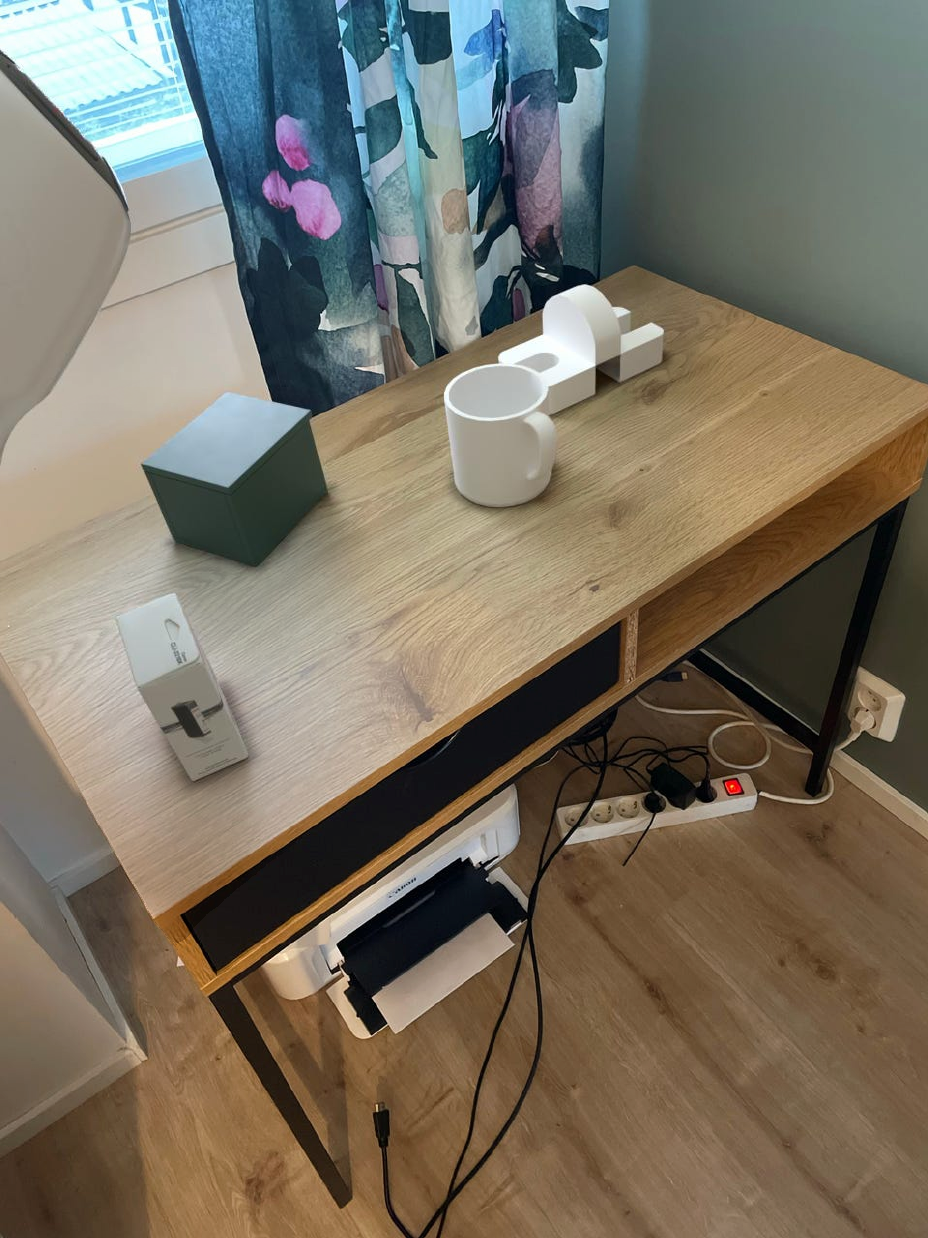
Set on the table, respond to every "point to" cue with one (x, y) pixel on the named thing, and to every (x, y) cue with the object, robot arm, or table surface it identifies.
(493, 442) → the mug
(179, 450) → the lid
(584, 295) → the slotted bracket
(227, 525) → the chest
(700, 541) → the table surface
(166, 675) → the ink box
